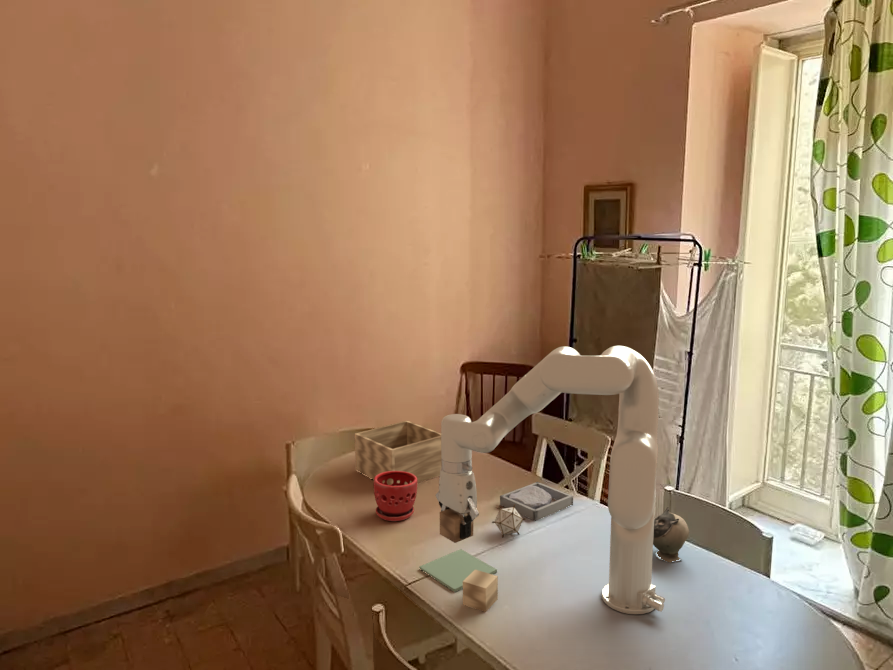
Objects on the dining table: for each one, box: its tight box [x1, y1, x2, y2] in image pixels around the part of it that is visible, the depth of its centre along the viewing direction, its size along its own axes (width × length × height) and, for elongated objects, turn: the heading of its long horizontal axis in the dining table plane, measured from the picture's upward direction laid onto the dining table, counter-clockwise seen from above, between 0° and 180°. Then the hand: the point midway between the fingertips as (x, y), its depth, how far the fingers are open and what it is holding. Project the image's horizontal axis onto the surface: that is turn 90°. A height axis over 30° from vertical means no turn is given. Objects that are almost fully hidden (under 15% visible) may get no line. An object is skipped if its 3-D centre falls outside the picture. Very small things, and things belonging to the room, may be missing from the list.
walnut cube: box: [439, 508, 474, 544], centre depth 168 cm, size 6×6×6 cm
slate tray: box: [499, 481, 574, 522], centre depth 208 cm, size 15×17×3 cm
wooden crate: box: [354, 420, 441, 485], centre depth 235 cm, size 23×23×14 cm
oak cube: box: [462, 570, 499, 613], centre depth 156 cm, size 6×6×6 cm
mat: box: [419, 548, 498, 593], centre depth 170 cm, size 14×14×1 cm
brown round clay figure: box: [653, 506, 690, 563], centre depth 175 cm, size 10×12×10 cm
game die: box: [491, 504, 527, 538], centre depth 189 cm, size 9×8×10 cm
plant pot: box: [373, 471, 418, 522], centre depth 201 cm, size 13×13×12 cm
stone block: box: [509, 485, 553, 509], centre depth 209 cm, size 12×5×10 cm
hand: (456, 531), depth 168 cm, fingers closed on walnut cube, 6 cm apart
